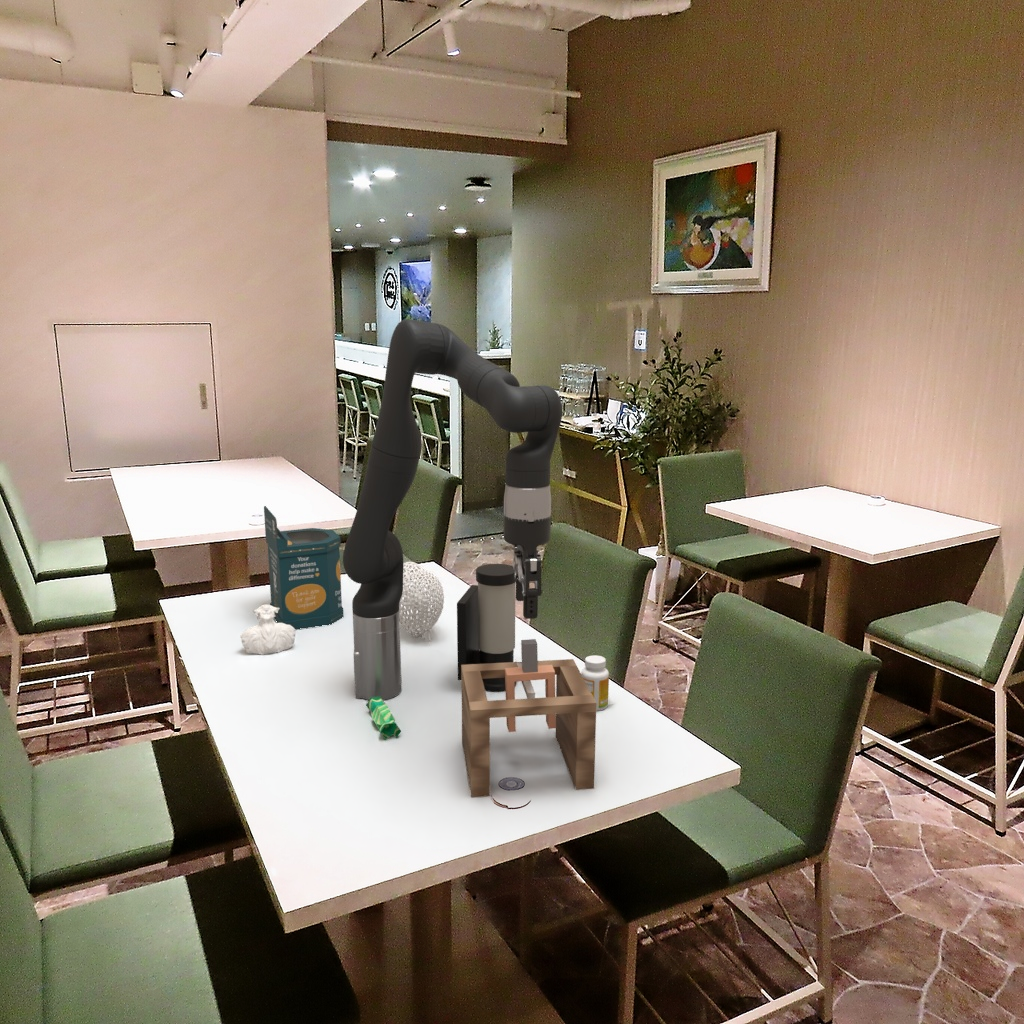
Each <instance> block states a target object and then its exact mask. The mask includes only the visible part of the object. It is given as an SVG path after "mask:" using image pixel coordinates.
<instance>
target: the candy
mask: <svg viewBox="0 0 1024 1024" xmlns="http://www.w3.org/2000/svg"><path fill="white" fill-rule="evenodd" d="M365 706H366V707H367V709H368V710H369V712H370V714H371V715H370V716H371V718H372V720H373V722H374V723H375V726H376V727H377V729H378V731H379V733H380V735H382V737H383V739H384V740H385V741H387V740H388V739H389V738H390V737H391V736H394V737H395V738H396V739H398V738H399V736H400V734H401V732H402V730H401V728H400V727H399V726H398V724H397V723H396V722H395V721H396V720H395V717H394V716H393V713H392V711H391V709H390V708H389V706H388V705H387V704H386V702H385V700H382V698H381V697H371V698H370V699H369V700H367V703H366V705H365Z"/></svg>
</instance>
